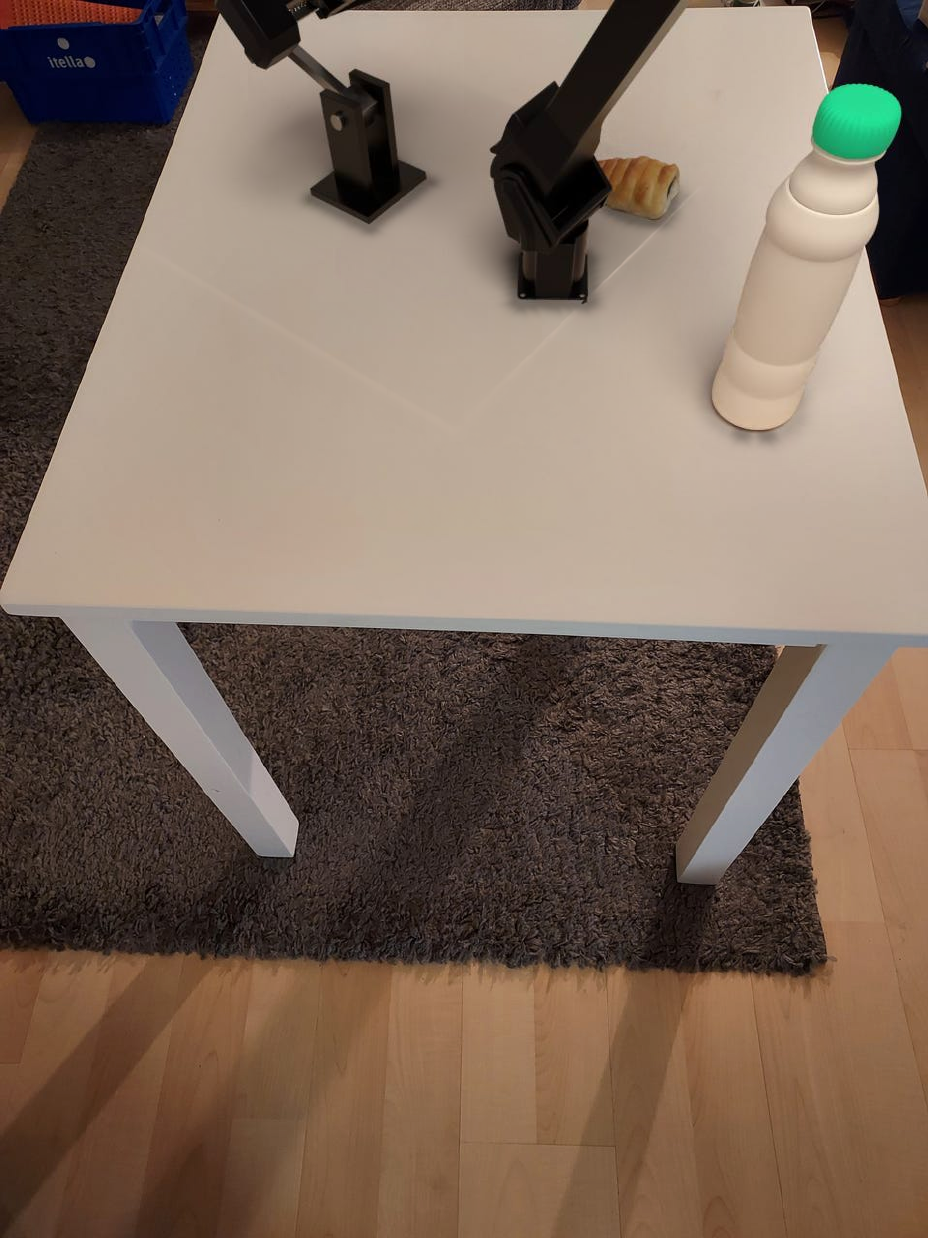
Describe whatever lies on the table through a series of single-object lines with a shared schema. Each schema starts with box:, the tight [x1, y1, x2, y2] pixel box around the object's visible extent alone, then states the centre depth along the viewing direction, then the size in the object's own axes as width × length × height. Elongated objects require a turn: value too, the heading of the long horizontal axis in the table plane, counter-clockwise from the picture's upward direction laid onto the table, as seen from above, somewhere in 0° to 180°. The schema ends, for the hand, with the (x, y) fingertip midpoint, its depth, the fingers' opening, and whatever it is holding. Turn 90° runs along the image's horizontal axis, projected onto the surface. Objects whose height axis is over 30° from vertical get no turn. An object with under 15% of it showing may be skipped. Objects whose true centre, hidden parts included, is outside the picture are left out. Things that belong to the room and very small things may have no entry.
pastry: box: [597, 155, 681, 220], centre depth 83 cm, size 9×7×4 cm
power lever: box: [287, 44, 377, 128], centre depth 79 cm, size 14×6×2 cm, turn 52°
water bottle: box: [711, 83, 902, 431], centre depth 60 cm, size 7×7×25 cm
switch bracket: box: [309, 68, 427, 225], centre depth 82 cm, size 8×9×10 cm
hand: (284, 35), depth 79 cm, fingers open, 9 cm apart
